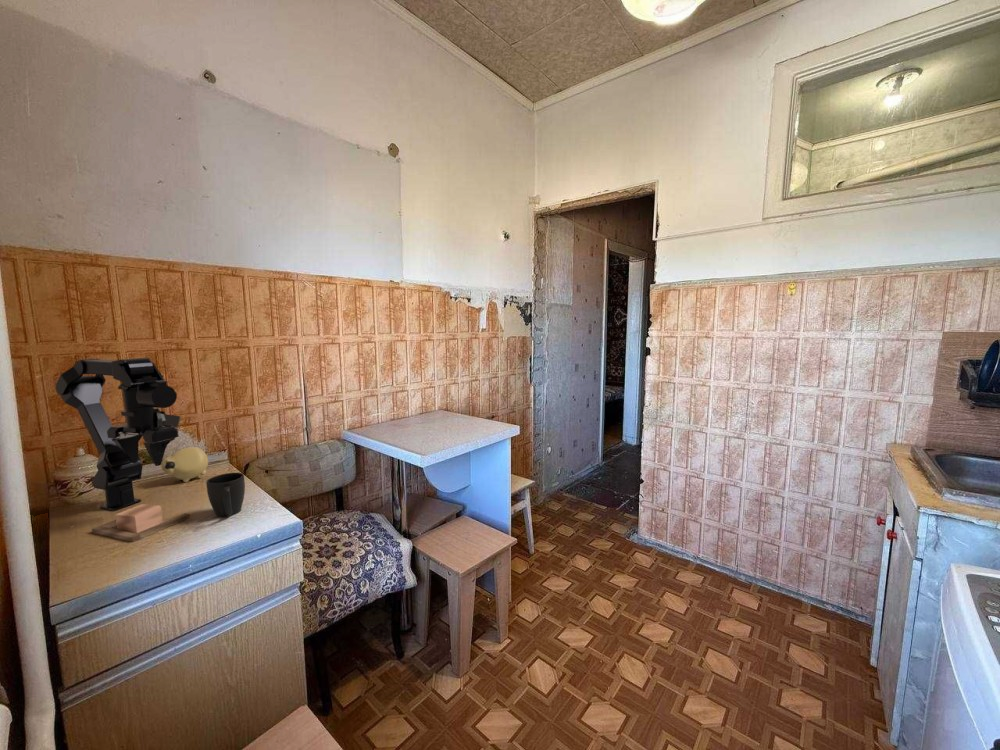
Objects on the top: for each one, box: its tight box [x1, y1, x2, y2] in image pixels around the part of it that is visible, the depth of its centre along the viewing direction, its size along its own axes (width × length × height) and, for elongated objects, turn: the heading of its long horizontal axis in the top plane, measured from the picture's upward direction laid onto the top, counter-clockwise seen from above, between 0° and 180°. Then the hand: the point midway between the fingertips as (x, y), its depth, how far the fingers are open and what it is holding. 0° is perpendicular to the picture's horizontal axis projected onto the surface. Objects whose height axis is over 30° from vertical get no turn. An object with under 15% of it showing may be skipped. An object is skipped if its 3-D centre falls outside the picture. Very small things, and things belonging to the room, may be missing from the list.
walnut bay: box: [91, 512, 191, 543], centre depth 101 cm, size 15×12×1 cm
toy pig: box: [160, 446, 209, 483], centre depth 131 cm, size 10×12×11 cm
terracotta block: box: [115, 503, 164, 534], centre depth 100 cm, size 6×6×4 cm
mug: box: [205, 472, 246, 518], centre depth 105 cm, size 8×12×10 cm
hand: (146, 463), depth 107 cm, fingers open, 9 cm apart
